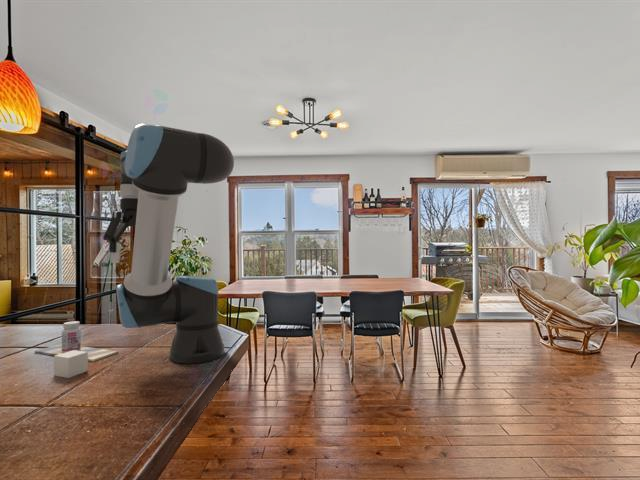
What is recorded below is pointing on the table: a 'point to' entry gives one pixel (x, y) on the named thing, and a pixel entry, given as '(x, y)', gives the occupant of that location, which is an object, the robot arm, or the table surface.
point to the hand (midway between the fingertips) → (132, 261)
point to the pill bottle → (71, 336)
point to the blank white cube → (70, 363)
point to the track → (93, 353)
